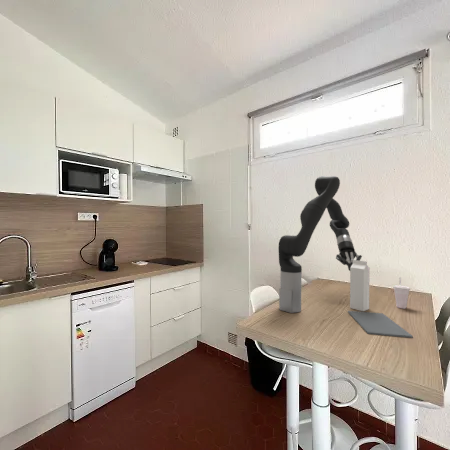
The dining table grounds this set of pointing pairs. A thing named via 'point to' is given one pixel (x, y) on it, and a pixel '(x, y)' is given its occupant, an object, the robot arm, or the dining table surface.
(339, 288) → the dining table surface
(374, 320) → the mat
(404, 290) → the smoothie
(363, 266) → the milk
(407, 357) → the dining table surface
